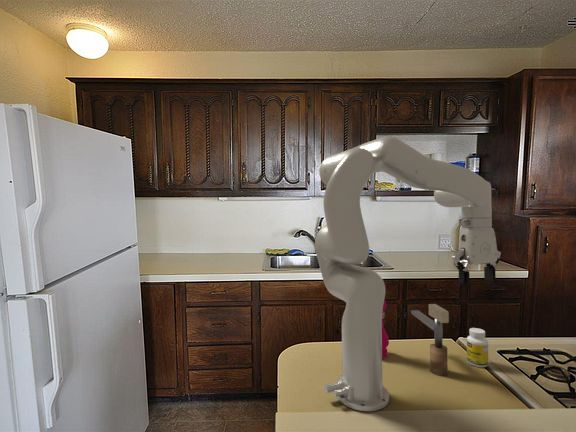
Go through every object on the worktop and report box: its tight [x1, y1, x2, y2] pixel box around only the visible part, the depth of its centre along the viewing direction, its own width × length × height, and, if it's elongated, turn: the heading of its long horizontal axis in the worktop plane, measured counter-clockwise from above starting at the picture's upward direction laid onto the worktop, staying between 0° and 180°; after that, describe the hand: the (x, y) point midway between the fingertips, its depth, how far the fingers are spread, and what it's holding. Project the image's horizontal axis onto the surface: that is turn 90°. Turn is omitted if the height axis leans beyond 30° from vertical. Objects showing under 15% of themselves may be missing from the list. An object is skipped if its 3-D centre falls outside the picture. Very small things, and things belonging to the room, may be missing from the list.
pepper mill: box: [382, 299, 390, 360], centre depth 100 cm, size 7×7×20 cm
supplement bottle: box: [466, 327, 489, 368], centre depth 93 cm, size 5×5×10 cm
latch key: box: [410, 303, 450, 347], centre depth 95 cm, size 18×2×11 cm, turn 3°
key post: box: [429, 343, 449, 377], centre depth 89 cm, size 4×4×7 cm
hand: (477, 282), depth 93 cm, fingers open, 9 cm apart
